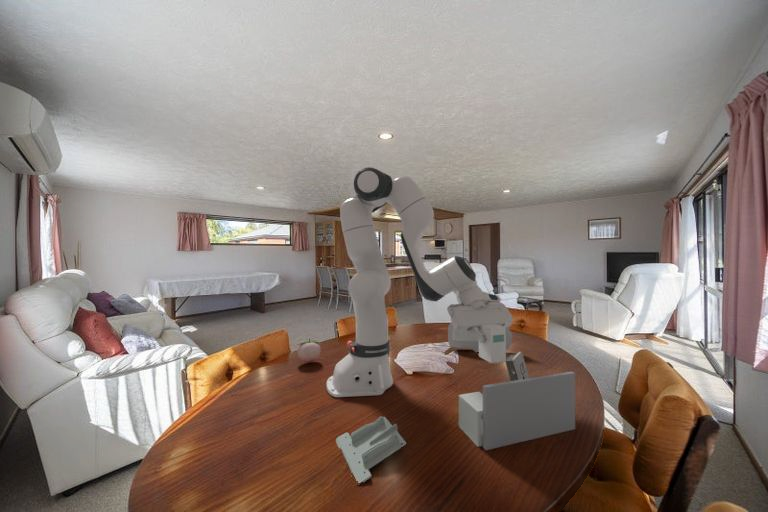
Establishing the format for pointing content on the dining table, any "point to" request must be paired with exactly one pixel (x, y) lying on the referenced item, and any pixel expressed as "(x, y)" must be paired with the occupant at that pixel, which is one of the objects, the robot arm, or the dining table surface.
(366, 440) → the metal bracket
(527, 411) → the rail panel
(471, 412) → the module left
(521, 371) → the electrical switch
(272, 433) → the dining table surface
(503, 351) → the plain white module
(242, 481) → the dining table surface
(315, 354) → the decorative fruit
